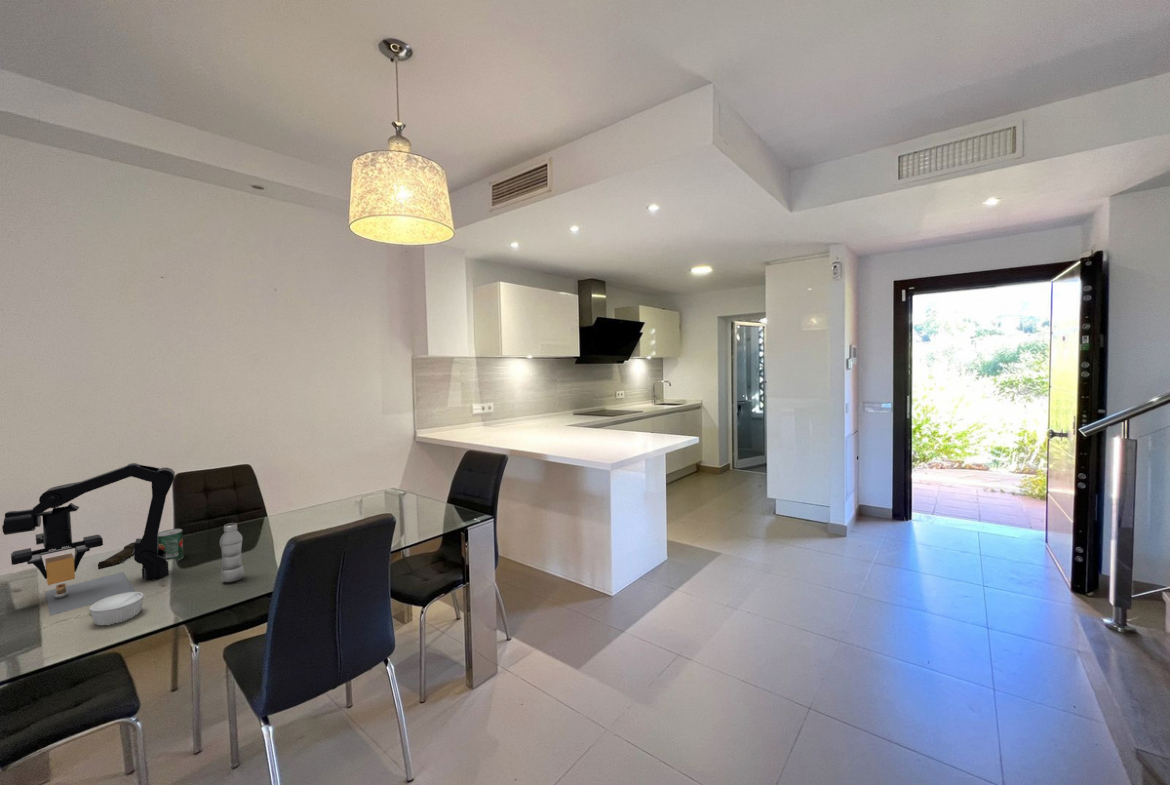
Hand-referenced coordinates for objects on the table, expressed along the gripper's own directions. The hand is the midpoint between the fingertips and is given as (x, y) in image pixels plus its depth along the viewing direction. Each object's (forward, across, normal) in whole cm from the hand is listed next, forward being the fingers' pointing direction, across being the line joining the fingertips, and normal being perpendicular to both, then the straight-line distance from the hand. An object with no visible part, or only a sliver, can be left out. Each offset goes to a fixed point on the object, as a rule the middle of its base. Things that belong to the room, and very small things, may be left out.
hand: (60, 575), depth 143 cm
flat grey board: (+9, -6, +2) cm, 11 cm away
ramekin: (+9, -9, +28) cm, 31 cm away
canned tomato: (+9, -28, -15) cm, 33 cm away
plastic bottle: (+9, -38, +26) cm, 47 cm away
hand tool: (+9, -16, -30) cm, 35 cm away
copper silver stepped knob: (+7, 0, 0) cm, 7 cm away
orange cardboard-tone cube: (+2, 0, 0) cm, 2 cm away
